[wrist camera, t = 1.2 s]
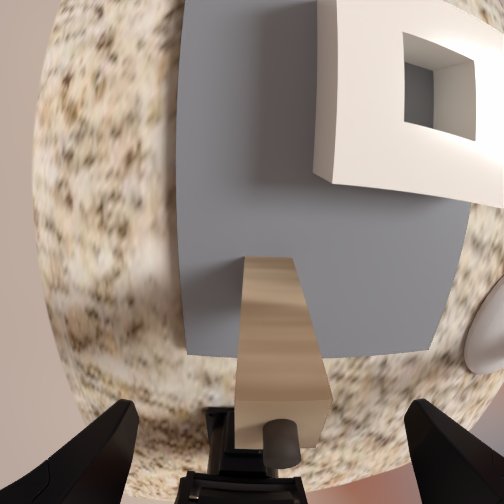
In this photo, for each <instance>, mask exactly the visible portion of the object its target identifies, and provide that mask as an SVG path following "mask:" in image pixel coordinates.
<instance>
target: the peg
mask: <svg viewBox="0 0 504 504" xmlns="http://www.w3.org/2000/svg"><path fill="white" fill-rule="evenodd" d="M332 401H333V397H332V393H331V390H330V386H329V382H328V378H327V375H326V371H325V367H324V364H323V360H322V356H321V353H320V349H319V346H318V342H317V339H316V335H315V332H314V328H313V325H312V321H311V318H310V314H309V311H308V307H307V304H306V301H305V297H304V294H303V291H302V287H301V284H300V281H299V278H298V274H297V271H296V268H295V265H294V261H293V258H287V257H259V256H245V261H244V274H243V287H242V301H241V315H240V329H239V343H238V357H237V372H236V386H235V449H263V463H264V465H265V466H266V467H269V468H272V469H286V468H291V467H294V466H296V465H298V464H299V463H300V462H301V454H300V448H314V447H316V445H317V442H318V440H319V437H320V434H321V432H322V429H323V426H324V424H325V421H326V418H327V415H328V413H329V410H330V407H331V404H332Z"/></svg>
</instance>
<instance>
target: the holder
mask: <svg viewBox="0 0 504 504" xmlns="http://www.w3.org/2000/svg"><path fill="white" fill-rule="evenodd" d="M404 62H407V63H410V64H413V65H416V66H419V67H422V68H425V69H428V70H431V71H433V76H434V118H433V129H431V128H428V127H424V126H420V125H416V124H412V123H407V122H404V96H405V81H404ZM313 173H314V174H316V175H318V176H320V177H321V178H323V179H325V180H327V181H329V182H330V183H332V184H342V185H353V186H362V187H371V188H380V189H389V190H396V191H404V192H411V193H418V194H425V195H432V196H438V197H444V198H450V199H456V200H462V201H467V202H472V203H478V204H483V205H488V206H493V207H497V208H502V209H503V208H504V34H502V33H501V32H499V31H497V30H496V29H494V28H493V27H491V26H489V25H488V24H486V23H484V22H483V21H481V20H479V19H478V18H476V17H474V16H472V15H470V14H469V13H467V12H465V11H463V10H461V9H459V8H457V7H455V6H453V5H451V4H449V3H447V2H445V1H443V0H317V95H316V121H315V141H314V158H313Z"/></svg>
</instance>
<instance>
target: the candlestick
mask: <svg viewBox="0 0 504 504" xmlns="http://www.w3.org/2000/svg"><path fill="white" fill-rule="evenodd" d="M464 360H465V363H466V365H467V367H468V368H469V369H470V370H471V371H472V372H473V373H475V374H478V375H483V374H489V373H493V372H496V371H498V370H500V369H502V368H504V276H503V277H502V278H501V279H500V280H499V281H498V282H497V284H496V285H495V286H494V287H493V289H492V290H491V291H490V293H489V294H488V296H487V297H486V299H485V300H484V302H483V303H482V305H481V307H480V309H479V310H478V312H477V314H476V316H475V318H474V320H473V322H472V324H471V327H470V329H469V332H468V335H467V338H466V342H465V347H464Z"/></svg>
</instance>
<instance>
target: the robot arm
mask: <svg viewBox="0 0 504 504" xmlns="http://www.w3.org/2000/svg"><path fill="white" fill-rule="evenodd" d="M206 422H207V430H208V438H209V445H210V452H209V460H208V469H207V474H203V473H195V471H187V475H186V477H182V478H180V484H179V490H178V494H177V497H176V500H175V503H174V504H308V503H307V499H306V495H305V491H304V487H303V483H302V480H301V477H293V478H278V469H272V468H269V467H266V466H265V465H264V463H263V449H235V410H234V409H217V408H208V409H207V410H206ZM138 424H139V416H138V413H137V411H136V408H135V405H134V403H133V401H131V400H126V399H120V400H118V401H117V402H116V403H115V404H113V405H112V406H111V407H110V408H109V409H107V410H106V411H105V412H104V413H103V414H102V415H100V416H99V417H98V418H97V419H96V420H94V421H93V422H92V423H91V424H90V425H88V426H87V427H86V428H85V429H84V430H82V431H81V432H80V433H79V434H78V435H76V436H75V437H74V438H73V439H71V440H70V441H69V442H68V443H67V444H65V445H64V446H63V447H62V448H60V449H59V450H58V451H57V452H56V453H54V454H53V455H52V456H51V457H49V458H48V460H45V461H44V462H43V463H42V464H40V465H39V466H38V467H36V468H35V469H34V470H32V471H31V472H30V473H28V474H27V475H25V476H23V477H22V478H20V479H19V480H17V481H15V482H14V483H12V484H10V485H8V486H7V487H5V488H3V489H1V490H0V504H120V502H121V498H122V495H123V491H124V488H125V484H126V481H127V477H128V474H129V470H130V467H131V463H132V459H133V453H134V447H135V441H136V435H137V429H138ZM404 424H405V429H406V435H407V440H408V446H409V452H410V457H411V461H412V465H413V469H414V472H415V476H416V480H417V484H418V488H419V492H420V496H421V500H422V504H504V457H503V456H501V455H500V454H498V453H497V452H496V451H494V450H492V449H491V448H490V447H489V446H487V445H486V444H485V443H483V442H482V441H481V440H479V439H478V438H477V437H475V436H474V435H473V434H471V433H470V432H469V431H467V430H466V429H465V428H463V427H462V426H460V425H459V424H458V423H456V422H455V421H454V420H452V419H451V418H450V417H448V416H447V415H446V414H444V413H443V412H442V411H440V410H439V409H438V408H436V407H435V406H434V405H432V404H431V403H430V402H429V401H427V400H426V399H417V400H414V401H413V402H412V403H411V405H410V407H409V408H408V410H407V412H406V414H405V416H404ZM196 497H199V498H198V499H196Z"/></svg>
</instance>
